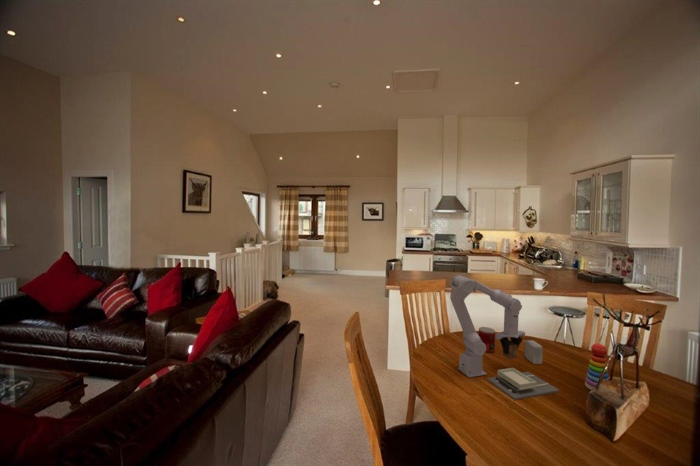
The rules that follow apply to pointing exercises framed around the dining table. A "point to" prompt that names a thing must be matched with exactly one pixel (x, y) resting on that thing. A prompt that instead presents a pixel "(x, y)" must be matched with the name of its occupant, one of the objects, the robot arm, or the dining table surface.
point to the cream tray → (517, 378)
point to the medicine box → (533, 351)
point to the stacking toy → (596, 366)
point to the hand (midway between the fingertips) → (509, 352)
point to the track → (517, 394)
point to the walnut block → (511, 351)
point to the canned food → (488, 338)
